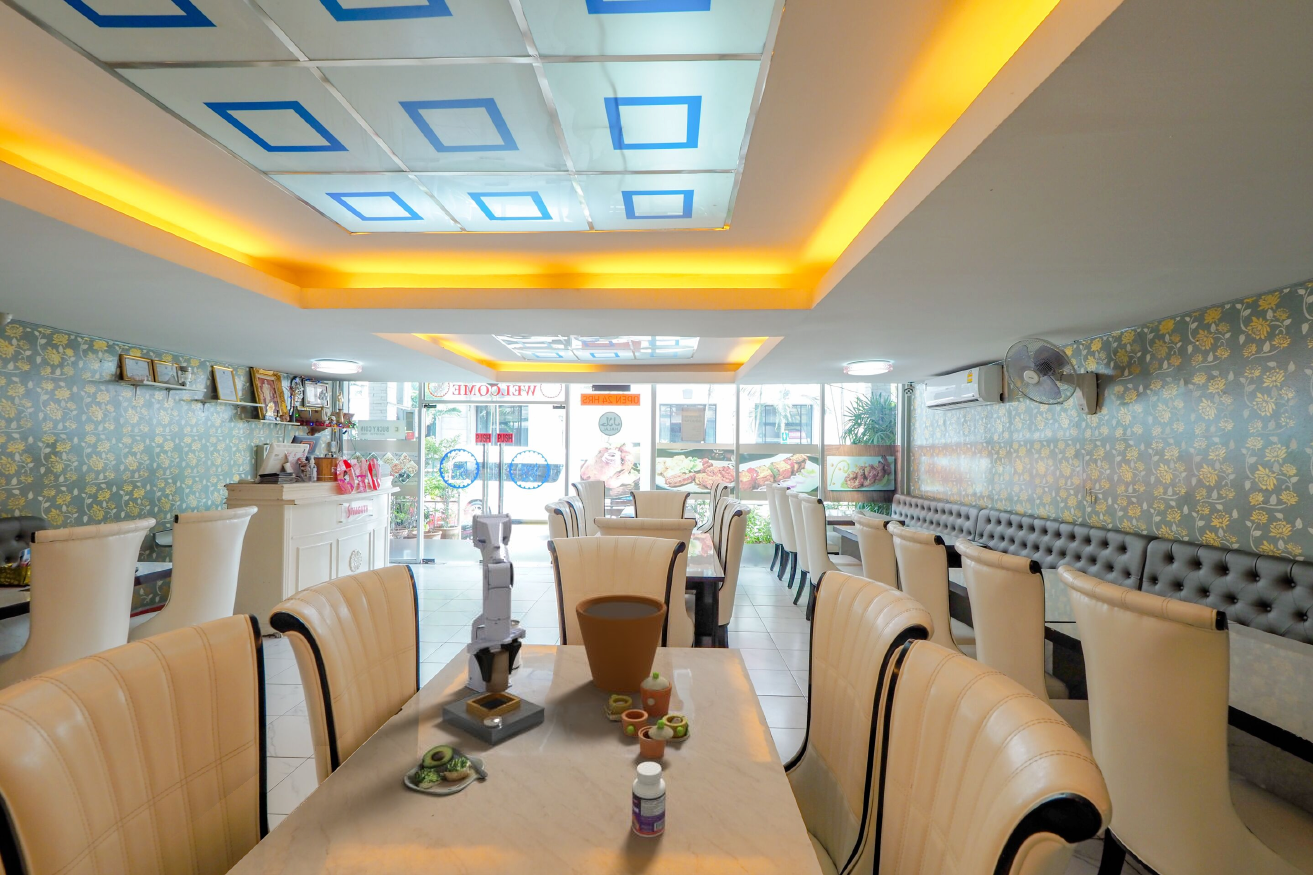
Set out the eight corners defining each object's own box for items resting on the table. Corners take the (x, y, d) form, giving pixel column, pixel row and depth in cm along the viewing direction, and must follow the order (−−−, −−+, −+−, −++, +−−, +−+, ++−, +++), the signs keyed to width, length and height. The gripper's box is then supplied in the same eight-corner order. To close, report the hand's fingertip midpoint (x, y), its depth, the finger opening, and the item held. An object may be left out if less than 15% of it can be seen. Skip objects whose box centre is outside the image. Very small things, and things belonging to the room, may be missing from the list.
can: (523, 661, 165) (524, 619, 165) (516, 670, 159) (516, 626, 159) (501, 660, 166) (502, 618, 166) (493, 669, 159) (494, 625, 160)
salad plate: (506, 765, 112) (506, 747, 112) (461, 806, 99) (462, 785, 99) (442, 752, 117) (443, 734, 117) (392, 789, 104) (393, 769, 104)
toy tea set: (599, 711, 135) (600, 669, 135) (660, 700, 141) (660, 661, 142) (639, 768, 111) (640, 718, 111) (710, 753, 117) (711, 705, 117)
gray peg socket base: (442, 720, 129) (442, 699, 129) (494, 699, 140) (494, 680, 141) (491, 746, 118) (492, 724, 118) (544, 721, 129) (544, 700, 130)
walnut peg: (480, 689, 130) (481, 653, 130) (499, 682, 134) (499, 647, 134) (494, 695, 127) (495, 658, 127) (513, 687, 130) (513, 652, 131)
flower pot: (556, 680, 152) (558, 604, 153) (626, 659, 168) (627, 590, 169) (612, 711, 135) (613, 625, 135) (684, 684, 151) (685, 607, 151)
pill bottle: (631, 818, 96) (631, 759, 96) (663, 817, 96) (664, 758, 96) (632, 840, 90) (633, 778, 91) (666, 839, 91) (667, 776, 91)
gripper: (481, 627, 122) (480, 692, 122) (534, 612, 134) (533, 672, 133) (461, 621, 126) (460, 684, 126) (514, 607, 138) (514, 664, 138)
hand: (496, 677), depth 130 cm, fingers closed on walnut peg, 5 cm apart
